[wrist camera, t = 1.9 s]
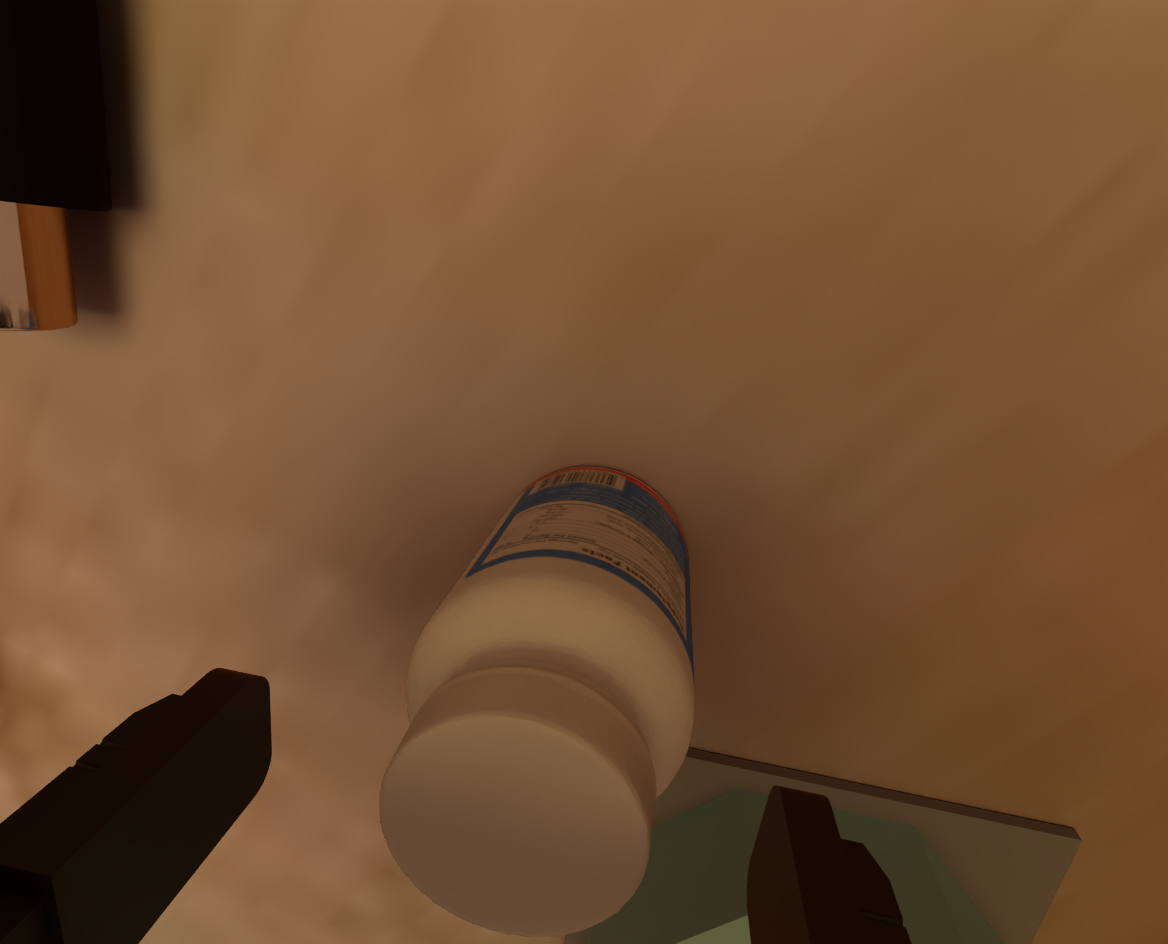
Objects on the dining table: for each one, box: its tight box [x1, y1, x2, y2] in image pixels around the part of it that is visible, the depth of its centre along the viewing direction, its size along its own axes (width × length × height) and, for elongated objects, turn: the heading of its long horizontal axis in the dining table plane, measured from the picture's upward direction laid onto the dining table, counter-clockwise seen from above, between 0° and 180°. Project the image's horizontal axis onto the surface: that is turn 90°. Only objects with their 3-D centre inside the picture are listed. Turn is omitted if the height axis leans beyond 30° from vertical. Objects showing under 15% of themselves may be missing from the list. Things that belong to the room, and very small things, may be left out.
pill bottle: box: [380, 467, 694, 937], centre depth 14 cm, size 6×5×10 cm
